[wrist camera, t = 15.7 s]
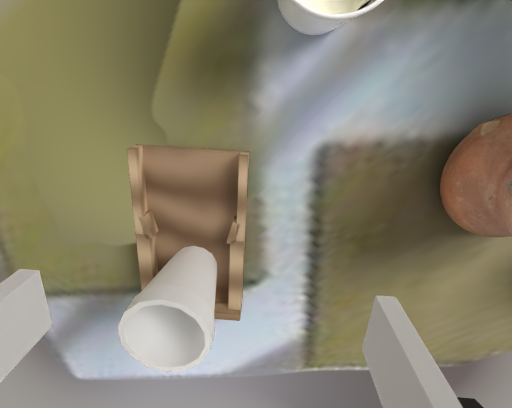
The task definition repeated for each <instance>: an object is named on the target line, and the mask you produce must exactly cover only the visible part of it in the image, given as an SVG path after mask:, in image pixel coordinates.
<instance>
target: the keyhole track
mask: <svg viewBox="0 0 512 408" xmlns="http://www.w3.org/2000/svg"><path fill="white" fill-rule="evenodd" d="M127 156H128V166H129V175H130V184H131V194H132V204H133V214H134V223H135V233H136V242H137V252H138V262H139V271H140V281H141V290H143V289H144V288H145V287H146V286H147V285H148V284H149V283H150V282H151V280H152V279H153V278H154V277H155V276H156V275H157V274H158V273H159V272H160V270H161V269H162V268H163V267H164V266H165V265H166V264H167V263H168V262H169V261H170V259H171V258H172V257H173V256H174V255H175V254H176V253H177V252H178V251H180V250H181V249H183V248H184V247H190V246H197V247H201V248H204V249H206V250H207V251H209V252H210V253H211V254H212V255H213V256H214V258H215V260H216V262H217V280H216V295H215V309H214V319H224V320H237V321H240V314H241V307H242V293H243V273H244V253H245V232H246V212H247V192H248V172H249V152H246V151H231V150H216V149H200V148H185V147H170V146H155V145H138V144H137V145H134V146H132V147H129V148H127Z"/></svg>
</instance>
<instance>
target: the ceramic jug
mask: <svg viewBox="0 0 512 408" xmlns="http://www.w3.org/2000/svg"><path fill="white" fill-rule="evenodd" d="M440 195H441V200H442V203H443V206H444V208H445V210H446V212H447V214H448V215H449V216H450V218H451V219H452V220H453V221H454V222H455V223H456V224H457V225H459V226H460V227H461V228H463V229H465V230H467V231H469V232H471V233H474V234H478V235H482V236H488V237H509V236H512V114H509V115H505V116H502V117H499V118H496V119H494V120H491V121H488V122H484V123H480V124H479V125H478V126H477V127H476V128H475V129H474V130H472V131H471V132H470V133H469V134H468V135H467V136H466V137H465V138H464V139H463V140H462V141H461V142H460V143H459V144H458V145H457V146H456V148H455V149H454V150H453V152H452V153H451V155H450V156H449V158H448V160H447V162H446V164H445V166H444V169H443V172H442V176H441V181H440Z"/></svg>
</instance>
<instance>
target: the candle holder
mask: <svg viewBox="0 0 512 408" xmlns="http://www.w3.org/2000/svg"><path fill="white" fill-rule="evenodd" d="M383 1H384V0H277V4H278V7H279V10H280V12H281V14H282V16H283V18H284V19H285V20H286V22H287V23H288V24H289V25H290V26H291V27H292V28H294V29H295V30H297V31H299V32H301V33H303V34H307V35H321V34H325V33H328V32H330V31H332V30H334V29H336V28H338V27H340V26H342V25H343V24H345V23H347V22H349V21H350V20H352V19H354V18H355V17H357V16H359V15H362V14H364V13H366V12H368V11H370V10H372V9H373V8H375V7H376V6H378V5H379V4H380V3H381V2H383Z"/></svg>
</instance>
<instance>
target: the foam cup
mask: <svg viewBox="0 0 512 408" xmlns="http://www.w3.org/2000/svg"><path fill="white" fill-rule="evenodd" d="M216 280H217V262H216V260H215V258H214V256H213V255H212V254H211V253H210V252H209V251H207V250H206V249H204V248H201V247H197V246H190V247H184V248H183V249H181V250H180V251H178V252H177V253H176V254H175V255H174V256H173V257H172V258H171V259H170V261H169V262H168V263H167V264H166V265H165V266H164V267H163V268H162V269H161V270H160V272H159V273H158V274H157V275H156V276H155V277H154V278H153V279H152V280H151V282H150V283H149V284H148V285H147V286H146V287H145V288H144V289H143V290H142V292H140V293H139V294H137V295H136V296H135V297H134V298H133V300H132V301H131V303H130V304H129V306H128V307H127V309H126V310H125V312H124V314H123V316H122V318H121V321H120V323H119V325H118V331H119V337H120V342H121V344H122V345H123V347H124V348H125V349H126V351H127V352H128V353H129V354H130V356H131V357H132V358H134V359H135V360H137V361H139V362H140V363H142V364H144V365H145V366H147V367H149V368H153V369H157V370H162V371H167V372H172V371H182V370H188V369H190V368H192V367H194V366H195V365H197V364H199V363H201V362H203V360H204V358H205V357H206V355H207V354H208V352H209V350H210V349H211V345H212V341H213V336H214V332H215V322H214V309H215V295H216Z"/></svg>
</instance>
